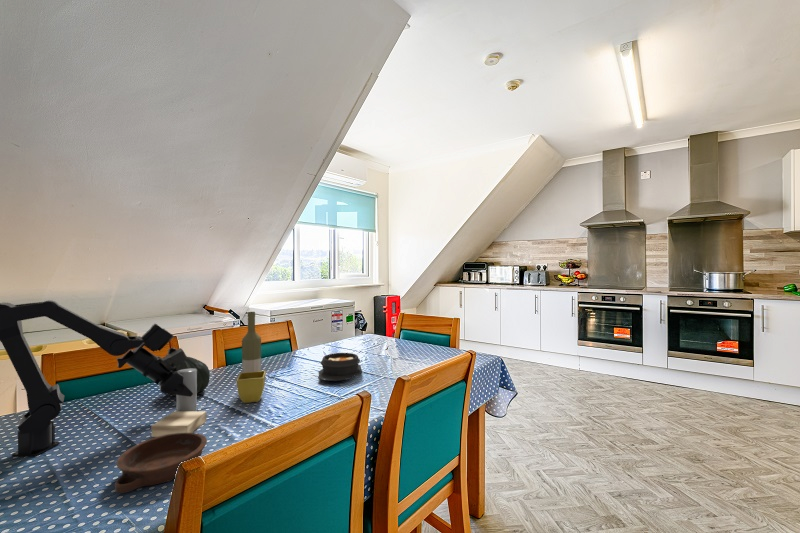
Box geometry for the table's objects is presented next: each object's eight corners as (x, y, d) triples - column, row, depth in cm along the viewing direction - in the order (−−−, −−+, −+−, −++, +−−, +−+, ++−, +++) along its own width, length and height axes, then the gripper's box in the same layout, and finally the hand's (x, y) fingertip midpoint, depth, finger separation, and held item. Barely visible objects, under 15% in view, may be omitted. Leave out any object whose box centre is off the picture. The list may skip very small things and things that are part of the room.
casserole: (350, 387, 142) (350, 365, 142) (307, 383, 146) (306, 362, 146) (370, 369, 166) (370, 351, 166) (332, 366, 170) (332, 349, 170)
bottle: (258, 386, 143) (258, 310, 143) (264, 391, 137) (263, 312, 137) (239, 389, 138) (239, 311, 138) (244, 395, 133) (243, 313, 133)
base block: (187, 436, 101) (187, 425, 101) (151, 436, 101) (151, 425, 101) (206, 421, 111) (206, 411, 111) (173, 421, 111) (173, 411, 111)
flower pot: (236, 406, 122) (236, 379, 122) (240, 397, 131) (240, 372, 131) (263, 403, 125) (263, 377, 125) (266, 394, 133) (265, 370, 133)
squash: (210, 369, 148) (182, 345, 141) (223, 378, 137) (194, 353, 130) (180, 398, 141) (150, 375, 133) (192, 410, 130) (159, 386, 123)
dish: (228, 449, 94) (227, 430, 94) (158, 504, 72) (158, 479, 72) (169, 444, 97) (169, 425, 97) (85, 495, 75) (85, 471, 75)
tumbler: (190, 418, 113) (190, 373, 113) (172, 418, 113) (172, 373, 113) (200, 411, 118) (200, 368, 119) (183, 411, 118) (183, 368, 118)
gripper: (173, 346, 105) (215, 376, 113) (164, 337, 120) (202, 364, 127) (141, 379, 100) (187, 408, 108) (135, 365, 115) (176, 391, 122)
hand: (189, 391), depth 116 cm, fingers open, 9 cm apart
